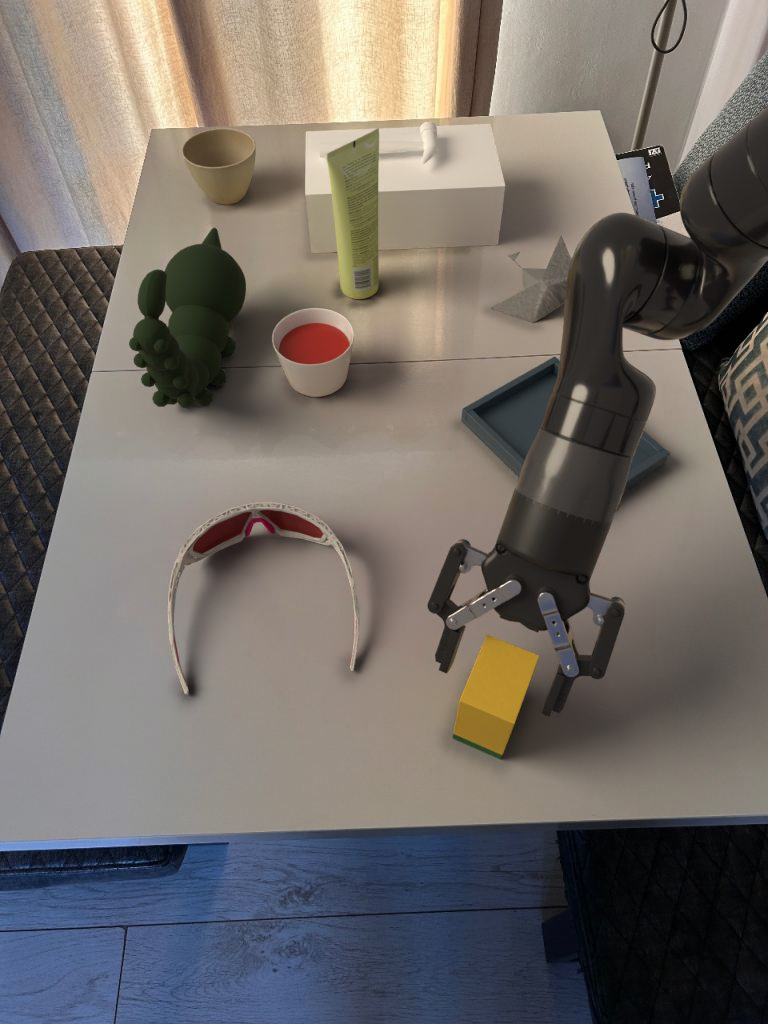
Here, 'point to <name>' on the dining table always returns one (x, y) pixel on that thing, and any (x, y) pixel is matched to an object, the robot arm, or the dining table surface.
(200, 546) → the sunglasses
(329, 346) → the white round cup
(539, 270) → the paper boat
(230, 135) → the flower pot
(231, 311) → the toy figurine
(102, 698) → the dining table surface
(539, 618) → the robot arm
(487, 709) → the sponge
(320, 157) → the tissue box
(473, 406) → the tray
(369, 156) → the tube
